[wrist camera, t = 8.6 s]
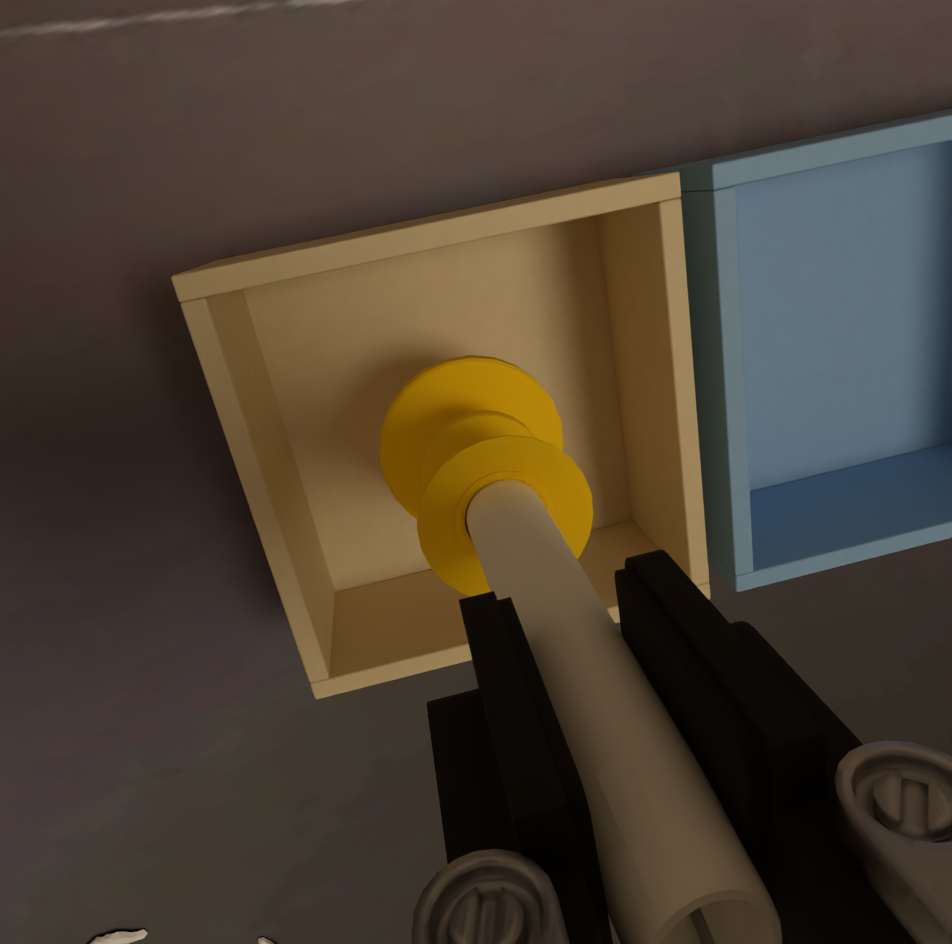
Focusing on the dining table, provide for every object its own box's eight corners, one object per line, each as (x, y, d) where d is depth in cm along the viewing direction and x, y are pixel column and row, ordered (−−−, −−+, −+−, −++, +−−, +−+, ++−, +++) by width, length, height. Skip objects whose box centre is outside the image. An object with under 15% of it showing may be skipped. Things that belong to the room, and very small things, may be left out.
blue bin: (630, 174, 22) (711, 164, 17) (988, 100, 23) (1168, 69, 18) (664, 519, 27) (736, 593, 21) (962, 446, 27) (1099, 500, 22)
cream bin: (216, 260, 21) (169, 276, 16) (606, 179, 22) (680, 170, 17) (324, 602, 26) (315, 701, 20) (644, 524, 26) (711, 600, 21)
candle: (432, 320, 19) (670, 687, 4) (592, 405, 20) (1160, 886, 6) (347, 484, 20) (313, 1194, 6) (504, 553, 22) (793, 1249, 7)
